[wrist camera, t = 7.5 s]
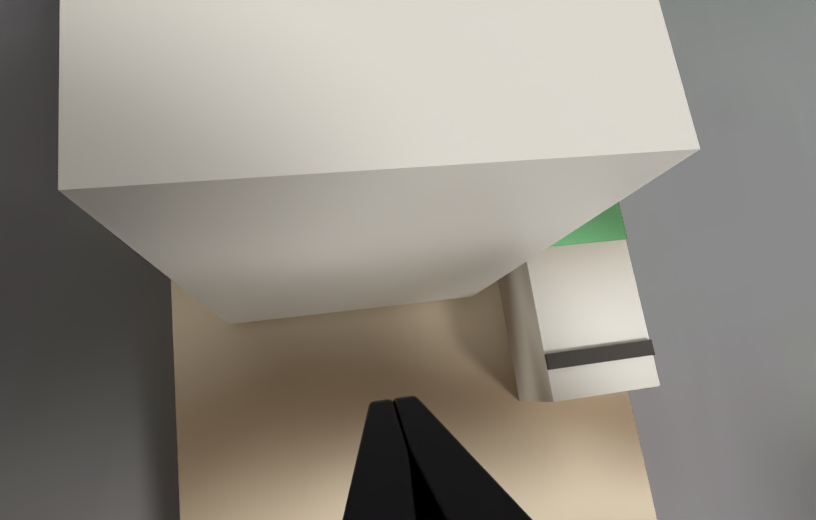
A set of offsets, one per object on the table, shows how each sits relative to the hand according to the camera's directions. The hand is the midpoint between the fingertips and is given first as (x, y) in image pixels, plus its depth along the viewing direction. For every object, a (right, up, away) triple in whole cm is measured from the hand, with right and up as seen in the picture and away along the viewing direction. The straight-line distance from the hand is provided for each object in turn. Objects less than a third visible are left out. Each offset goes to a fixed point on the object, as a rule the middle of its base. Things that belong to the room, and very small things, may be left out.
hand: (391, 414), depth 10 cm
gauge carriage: (0, +5, +7) cm, 8 cm away
